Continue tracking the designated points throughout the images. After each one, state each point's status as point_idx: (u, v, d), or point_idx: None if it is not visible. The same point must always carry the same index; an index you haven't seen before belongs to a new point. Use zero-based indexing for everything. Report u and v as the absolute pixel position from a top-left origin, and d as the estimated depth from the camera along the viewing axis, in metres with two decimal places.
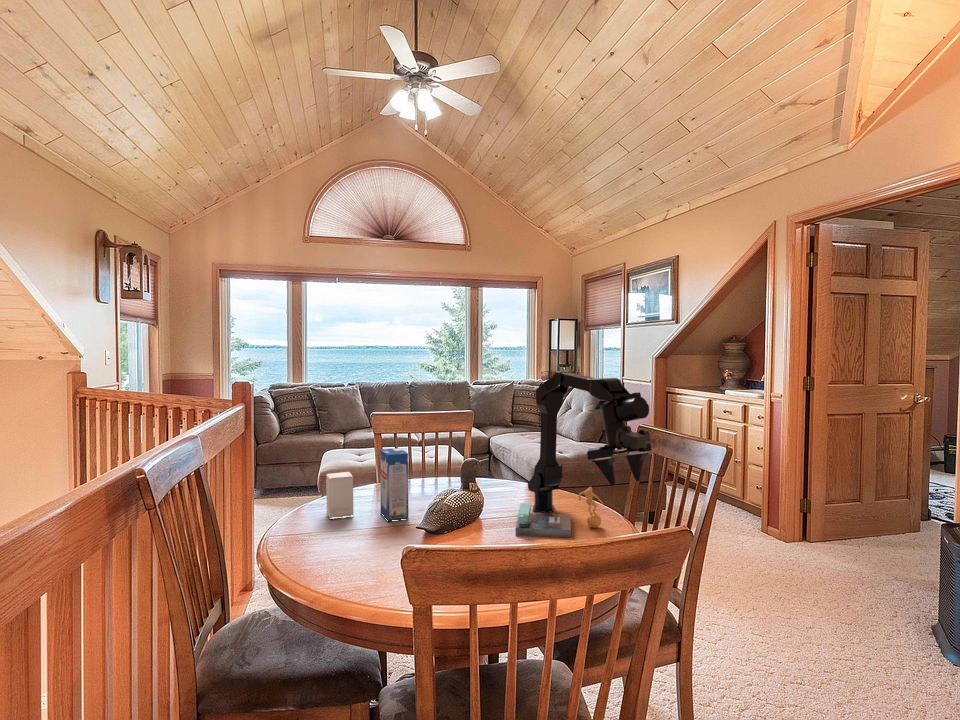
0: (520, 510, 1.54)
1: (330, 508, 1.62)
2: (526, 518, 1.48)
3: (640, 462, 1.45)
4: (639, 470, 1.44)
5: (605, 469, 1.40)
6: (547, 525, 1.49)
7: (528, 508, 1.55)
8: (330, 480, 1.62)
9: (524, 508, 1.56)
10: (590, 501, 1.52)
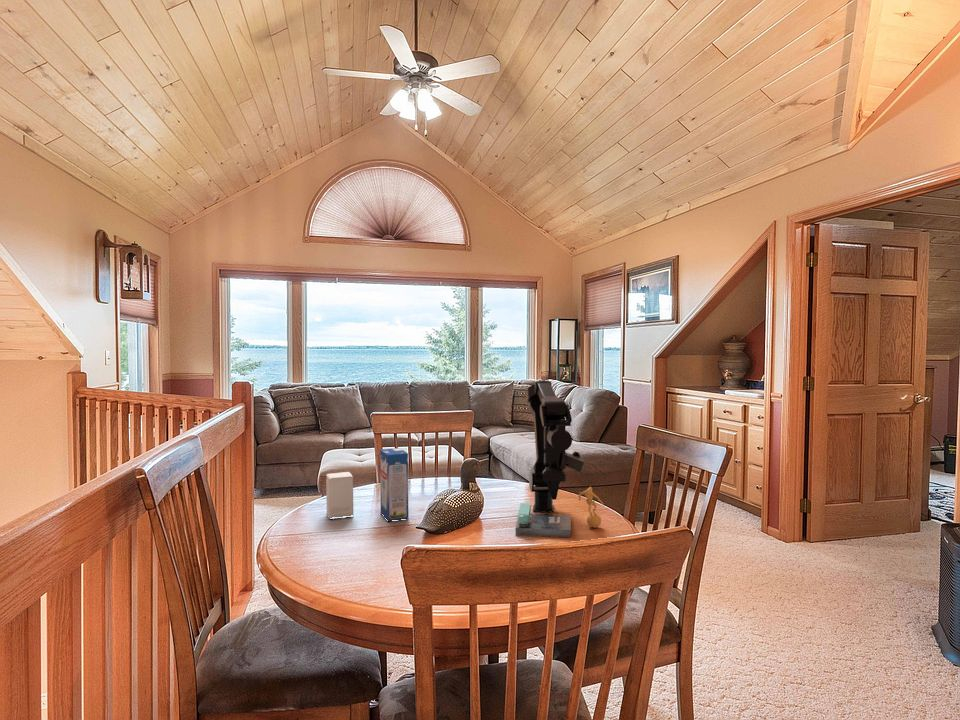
0: (520, 510, 1.54)
1: (330, 508, 1.62)
2: (526, 518, 1.48)
3: None
4: None
5: (552, 485, 1.53)
6: (547, 525, 1.49)
7: (528, 508, 1.55)
8: (330, 480, 1.62)
9: (524, 508, 1.56)
10: (590, 501, 1.52)
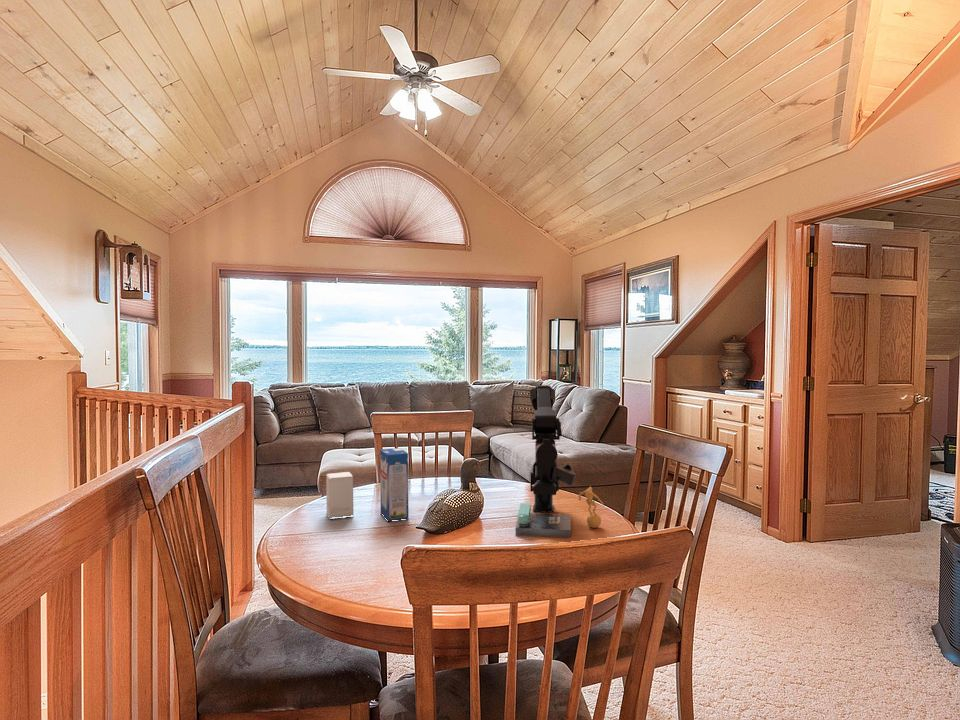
0: (520, 510, 1.54)
1: (330, 508, 1.62)
2: (526, 518, 1.48)
3: None
4: None
5: (543, 498, 1.54)
6: (547, 525, 1.49)
7: (528, 508, 1.55)
8: (330, 480, 1.62)
9: (524, 508, 1.56)
10: (590, 501, 1.52)
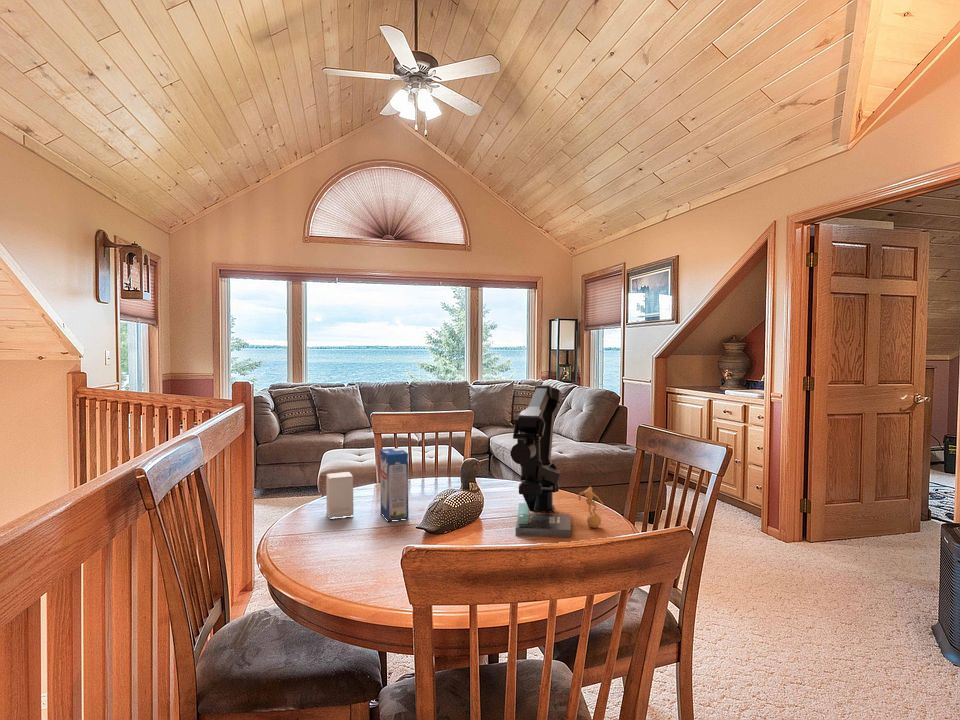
0: (519, 510, 1.54)
1: (330, 508, 1.62)
2: (526, 518, 1.48)
3: None
4: None
5: (529, 497, 1.55)
6: (547, 525, 1.49)
7: (527, 508, 1.56)
8: (330, 480, 1.62)
9: (523, 508, 1.56)
10: (590, 501, 1.52)
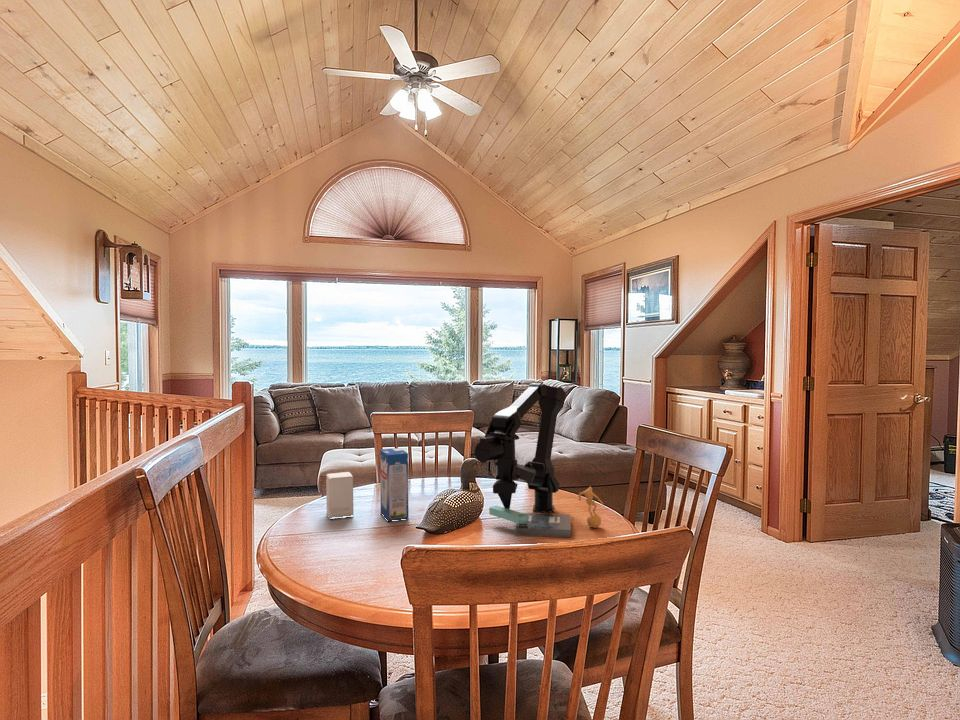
0: (508, 512, 1.52)
1: (330, 508, 1.62)
2: None
3: None
4: None
5: (505, 496, 1.56)
6: (547, 525, 1.49)
7: (508, 509, 1.55)
8: (330, 480, 1.62)
9: (505, 510, 1.54)
10: (590, 501, 1.52)
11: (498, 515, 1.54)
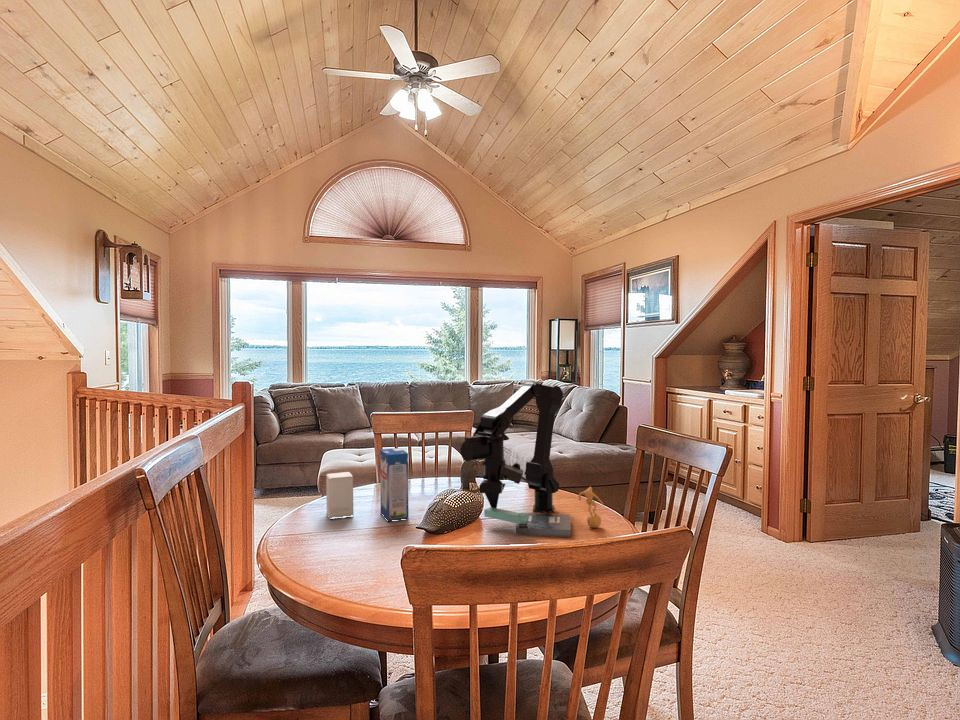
0: (507, 513, 1.51)
1: (330, 508, 1.62)
2: None
3: None
4: None
5: (492, 496, 1.56)
6: (547, 525, 1.49)
7: (505, 510, 1.54)
8: (330, 480, 1.62)
9: (501, 511, 1.53)
10: (590, 501, 1.52)
11: (495, 517, 1.53)
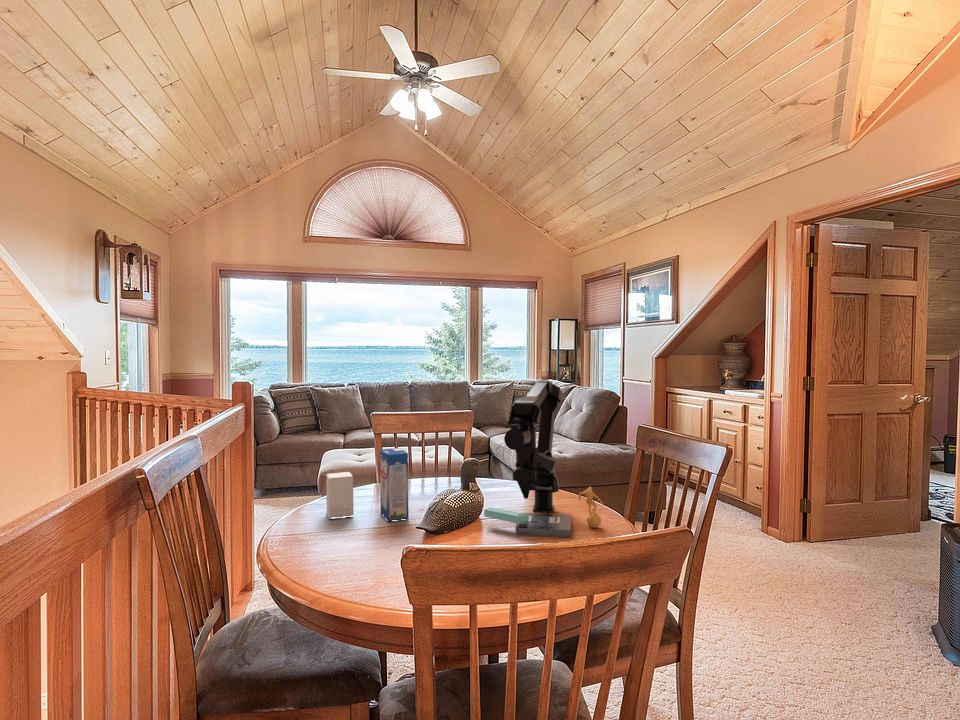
0: (507, 513, 1.51)
1: (330, 508, 1.62)
2: None
3: None
4: None
5: (524, 484, 1.54)
6: (547, 525, 1.49)
7: (504, 510, 1.54)
8: (330, 480, 1.62)
9: (501, 511, 1.53)
10: (590, 501, 1.52)
11: (494, 517, 1.53)
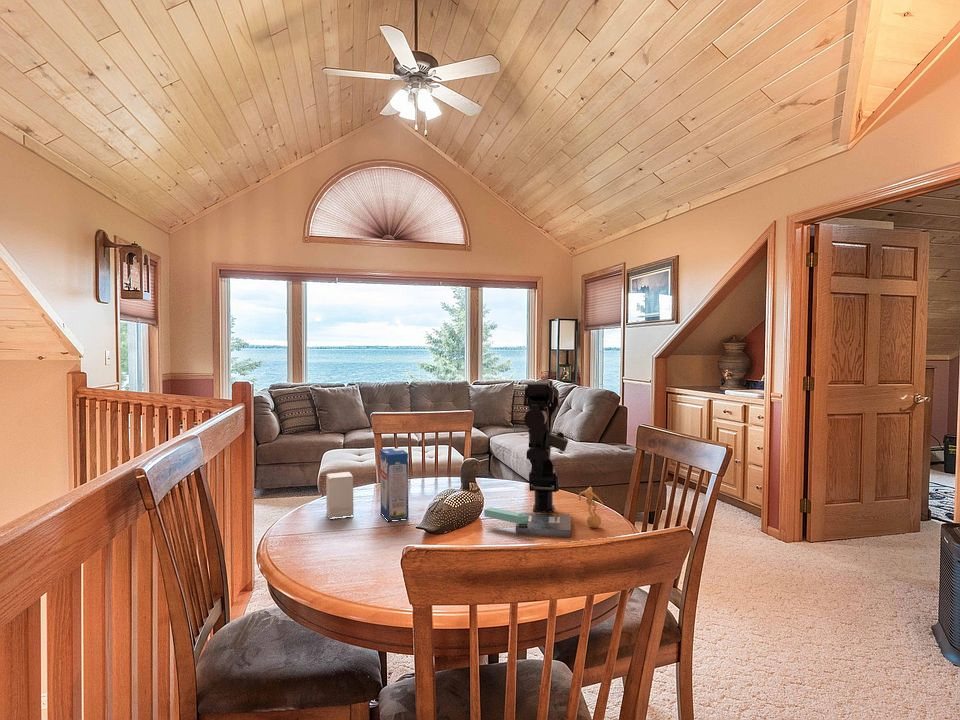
0: (507, 513, 1.51)
1: (330, 508, 1.62)
2: None
3: None
4: None
5: (536, 464, 1.57)
6: (547, 525, 1.49)
7: (504, 510, 1.54)
8: (330, 480, 1.62)
9: (501, 511, 1.53)
10: (590, 501, 1.52)
11: (494, 517, 1.53)
